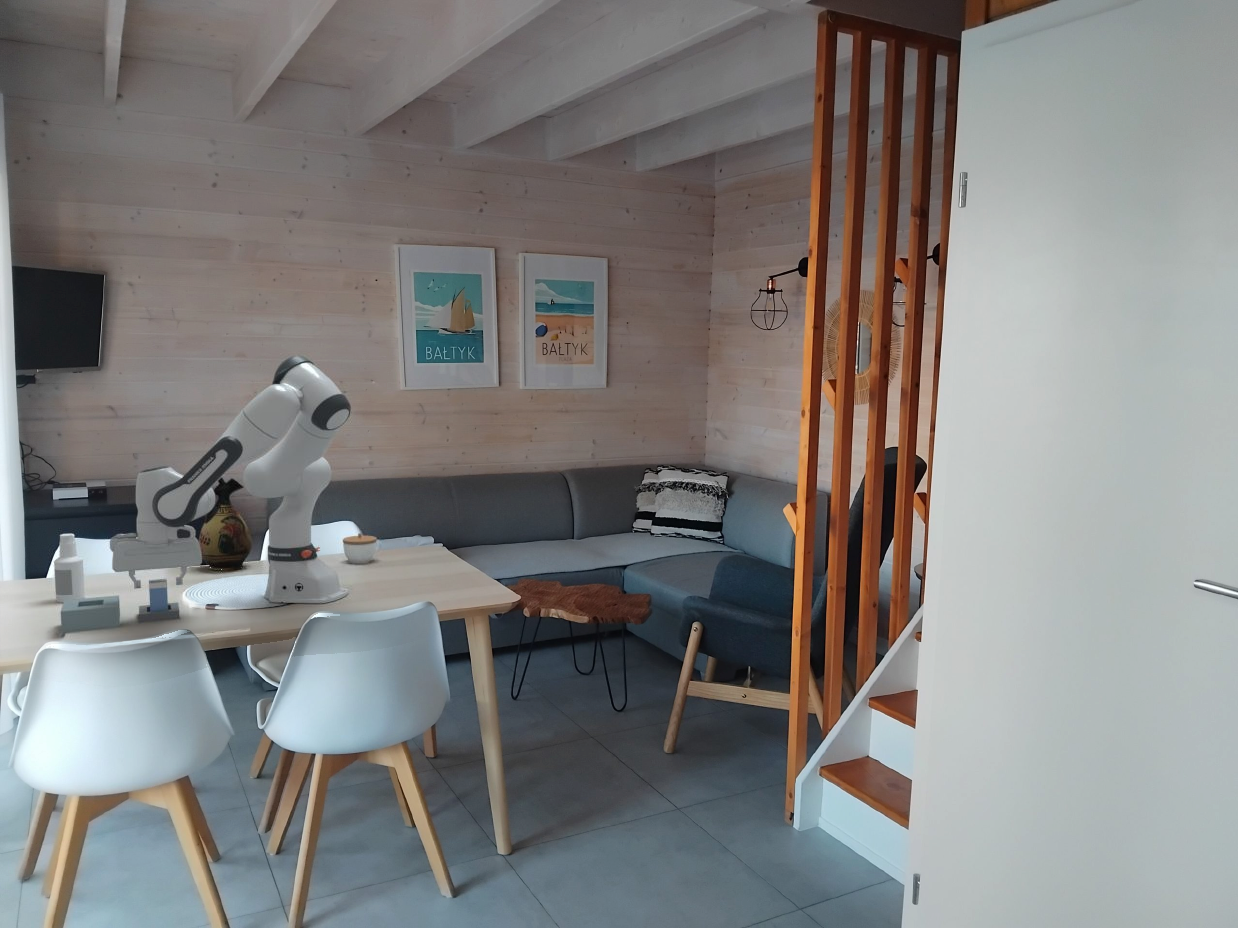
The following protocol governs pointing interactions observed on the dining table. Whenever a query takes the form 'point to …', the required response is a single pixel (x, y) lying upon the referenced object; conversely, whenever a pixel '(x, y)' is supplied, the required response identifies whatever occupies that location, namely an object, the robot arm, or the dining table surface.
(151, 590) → the plug
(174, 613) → the holster
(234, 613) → the dining table surface
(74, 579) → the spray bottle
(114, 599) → the port block
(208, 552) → the ceramic jug
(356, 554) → the lidded jar
